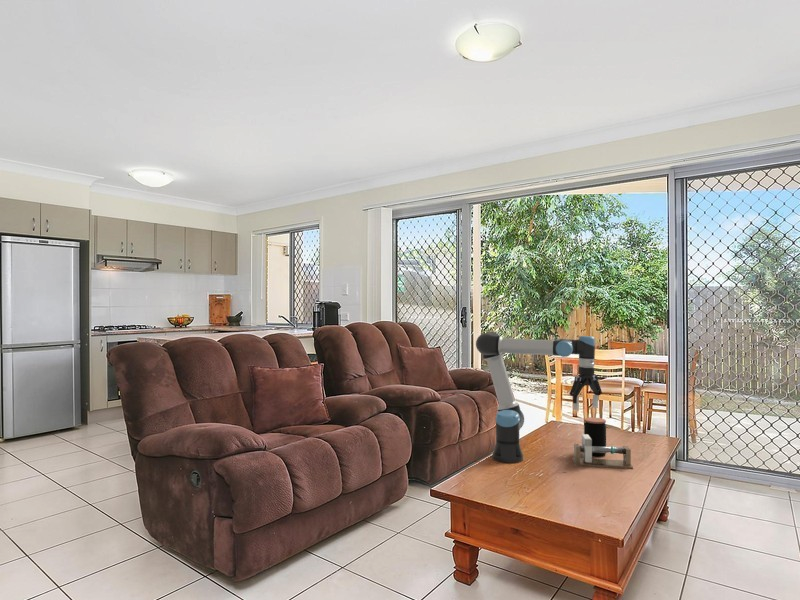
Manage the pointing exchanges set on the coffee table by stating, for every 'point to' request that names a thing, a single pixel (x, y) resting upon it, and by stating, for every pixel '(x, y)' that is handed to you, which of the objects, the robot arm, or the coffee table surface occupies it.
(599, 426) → the coffee jar
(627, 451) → the rail
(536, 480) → the coffee table surface
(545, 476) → the coffee table surface
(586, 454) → the collar
